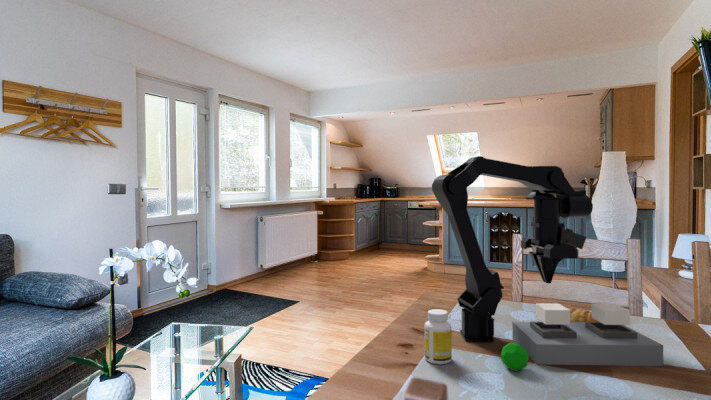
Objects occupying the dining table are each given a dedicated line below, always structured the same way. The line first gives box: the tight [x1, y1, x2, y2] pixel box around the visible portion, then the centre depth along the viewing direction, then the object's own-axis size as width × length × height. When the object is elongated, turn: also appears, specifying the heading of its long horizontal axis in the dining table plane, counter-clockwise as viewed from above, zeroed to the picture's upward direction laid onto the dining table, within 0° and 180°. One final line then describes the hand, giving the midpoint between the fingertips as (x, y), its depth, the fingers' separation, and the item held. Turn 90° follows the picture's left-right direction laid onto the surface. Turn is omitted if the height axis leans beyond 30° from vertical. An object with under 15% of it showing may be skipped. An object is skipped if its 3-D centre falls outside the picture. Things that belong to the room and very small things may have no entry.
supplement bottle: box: [423, 308, 453, 365], centre depth 82 cm, size 5×5×10 cm
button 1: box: [535, 303, 570, 325], centre depth 85 cm, size 5×5×3 cm
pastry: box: [568, 307, 599, 322], centre depth 102 cm, size 9×7×4 cm
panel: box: [511, 321, 664, 367], centre depth 85 cm, size 24×14×5 cm, turn 87°
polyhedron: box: [500, 342, 530, 372], centre depth 77 cm, size 5×5×5 cm
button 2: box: [591, 303, 631, 326], centre depth 85 cm, size 5×5×3 cm
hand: (547, 282), depth 97 cm, fingers closed
